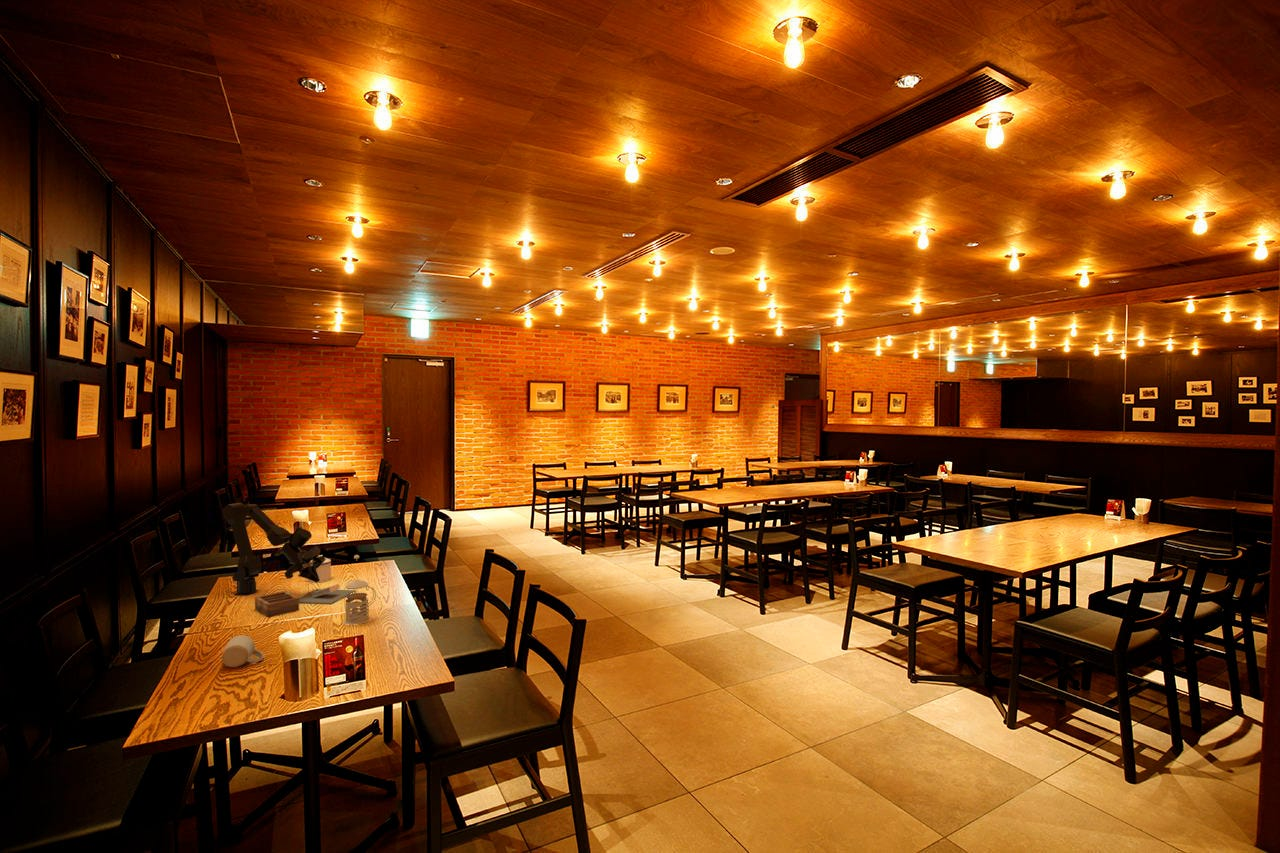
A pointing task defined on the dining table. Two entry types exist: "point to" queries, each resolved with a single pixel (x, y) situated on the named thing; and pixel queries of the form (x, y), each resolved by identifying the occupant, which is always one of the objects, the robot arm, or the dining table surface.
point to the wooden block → (325, 590)
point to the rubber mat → (325, 597)
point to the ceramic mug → (240, 652)
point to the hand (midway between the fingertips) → (318, 581)
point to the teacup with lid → (324, 570)
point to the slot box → (276, 604)
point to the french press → (357, 603)
